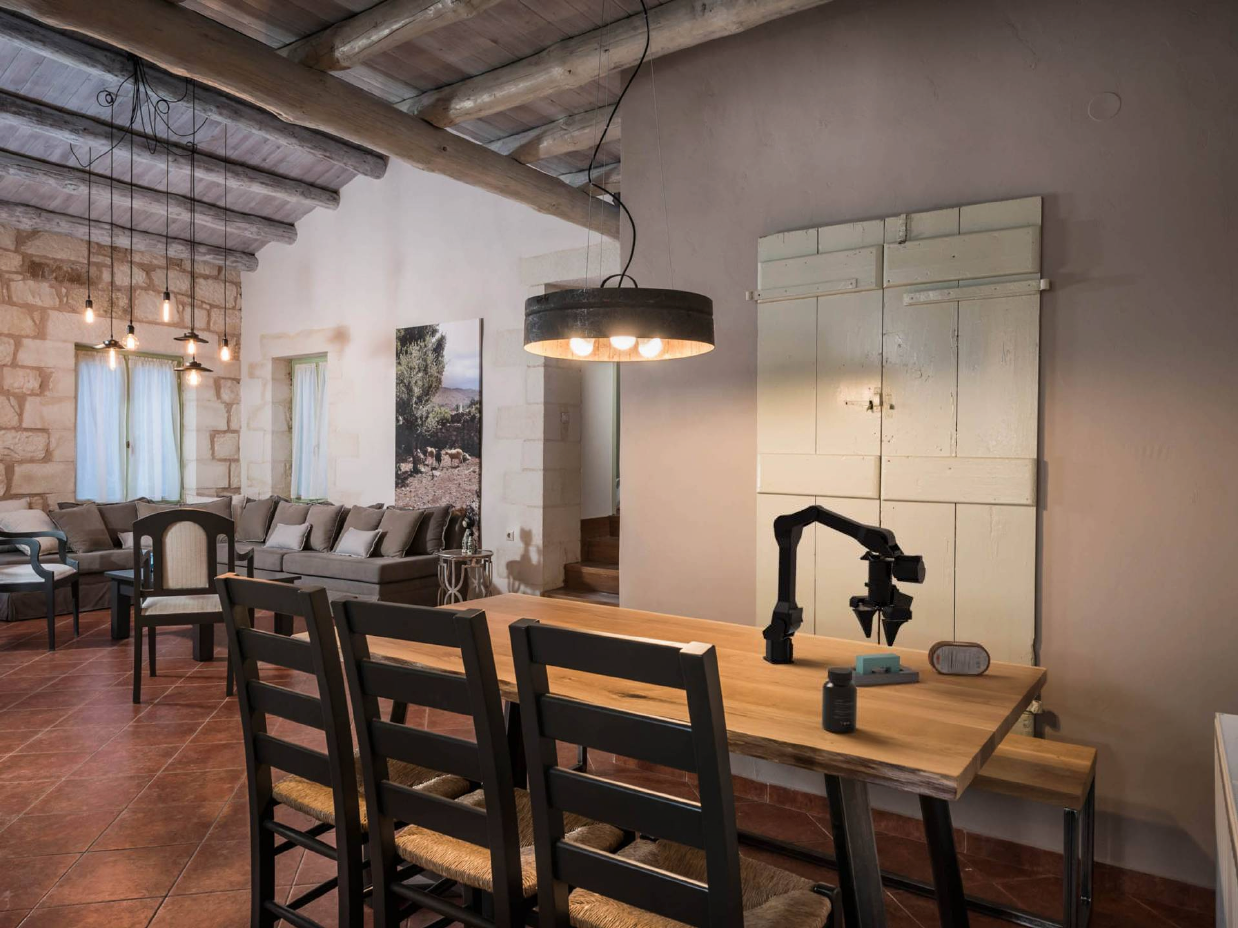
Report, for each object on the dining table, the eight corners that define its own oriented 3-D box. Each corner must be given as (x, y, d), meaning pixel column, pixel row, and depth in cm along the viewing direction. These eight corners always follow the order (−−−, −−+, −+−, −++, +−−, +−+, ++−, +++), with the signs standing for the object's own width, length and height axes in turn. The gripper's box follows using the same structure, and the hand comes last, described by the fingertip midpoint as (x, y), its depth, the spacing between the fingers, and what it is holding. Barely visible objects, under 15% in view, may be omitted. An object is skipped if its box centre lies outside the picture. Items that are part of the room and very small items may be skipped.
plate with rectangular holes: (854, 686, 193) (854, 676, 193) (836, 677, 200) (837, 667, 200) (918, 681, 197) (919, 671, 197) (899, 673, 205) (899, 663, 205)
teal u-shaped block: (862, 682, 196) (863, 658, 196) (855, 679, 199) (856, 655, 199) (899, 680, 199) (900, 656, 199) (892, 676, 202) (892, 653, 202)
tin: (987, 674, 206) (988, 641, 206) (991, 677, 203) (992, 644, 203) (927, 671, 208) (927, 639, 208) (930, 674, 205) (931, 642, 204)
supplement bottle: (816, 723, 165) (818, 665, 165) (848, 722, 166) (850, 665, 166) (828, 734, 158) (829, 674, 158) (861, 734, 159) (863, 674, 159)
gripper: (932, 584, 192) (931, 649, 192) (886, 573, 210) (885, 632, 210) (891, 585, 189) (890, 651, 189) (848, 574, 207) (847, 634, 207)
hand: (879, 641), depth 199 cm, fingers open, 9 cm apart
